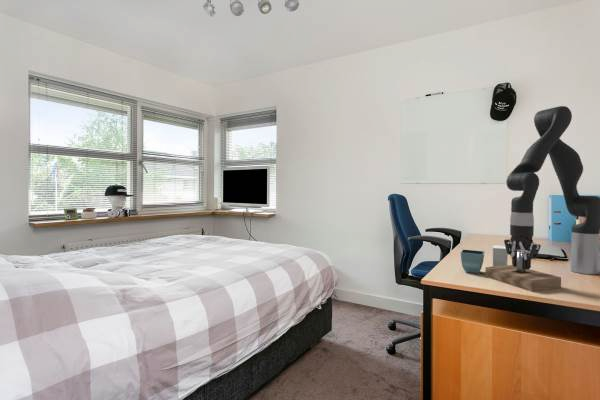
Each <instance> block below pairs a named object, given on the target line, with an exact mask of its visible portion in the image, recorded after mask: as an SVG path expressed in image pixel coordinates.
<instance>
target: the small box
mask: <svg viewBox="0 0 600 400" xmlns="http://www.w3.org/2000/svg"><path fill="white" fill-rule="evenodd" d="M508 255H509V254H507V251H506V247H505V245H492V267H494V266H505V265H508Z"/></svg>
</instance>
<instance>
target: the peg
mask: <svg viewBox="0 0 600 400" xmlns="http://www.w3.org/2000/svg"><path fill="white" fill-rule="evenodd" d="M524 260H525V259H524V256H523V254H522V251H517V261H516V272H517V273H520V274H526V269H524Z"/></svg>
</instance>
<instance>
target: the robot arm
mask: <svg viewBox="0 0 600 400" xmlns="http://www.w3.org/2000/svg"><path fill="white" fill-rule="evenodd" d="M572 119H573V115H572V111H571V110H570V108H569V107H568V106H566V105H565V106H564V105H561V106H560V105H559V106H555V107H551V108H547V109H542V110H539V111H537V112H536V113H535V114H534V117H533V123H534V127H535V129H536V131H537V133H538V135H539V137H540V138H538V139H537V140H536V141H534V142H533V143H532V144H531V145H530V147H528V148H527V150H526V151H525V153H524V156H523V157H522V159H521V161H520V162H519V164H518V165H516V167H515V168H514V169H512V170H511V172H509V174H508V175H507V178H506V181H505V182H506V187H507V189H508V190H510V191H513V192H517V191H518V192H522V194H521V195H520V196H515V197H512V199H511V204H510V205H511V207H510V209H511V210H510V211H511V212H510V218H509V219H510V221H509V223H510V224H509V235H510V239H509V238H508V239H504V240H503V242H504V246H505V247H506V251H507V254H508V255H509V256H511V265H513V266H514V267H516V261H517V251H522V254H523V256H524V259H525V260H524V269H530V270H531V267H532V266H531V265H532V260H535V259H537V258H538V255H539V252H540V249H541V246H542V245H541V244H538V243H536V242H534V240H533V237H534V236H535V235H534V225H535V224H534V223H535V222H534V221H535V218H534V201H535V198H536V194H537V192H538V189H539V186H540V178H539V175H538V174H536V173H538V172H539V171H540V170H541V169H542V167H543V166H544V164H545V161H546V159H547V157H548V156H549V159H550V161H551V164H552V167H553V169H554V172H555V174H556V176H557V179H558V181H559V185H560V187H561V190H562V194H563V197H564V202H565V207H566V209H567V212H568V213H569V214H570V215H571V216H573V217H580V218H585V220H584V221H583V222H581V223H577V224H573V225H572V226H571V233H570V234H571V238H570V240H571V245H570V250H571V251H570V271H571V272H574V273H577V274H583V275H599V274H600V197H599V196H598V195H597V196H596V195H580V193H579V192H578V187H577V186H578V183H579V180H581V177H582V174H583V173H584V165H583V163H582V160H581V157H580V154H579V153H578V152H577V151H576V150H575V149H574V148H573V147H571V146H570V145H569V144H567V143H565V142H564V141H563V140H562V139H561V137H562V136H563V134H564V133H565V132H566V130H567V129H568V127H569V126H570V125H571V122H572Z"/></svg>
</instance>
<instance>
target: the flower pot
mask: <svg viewBox="0 0 600 400" xmlns="http://www.w3.org/2000/svg"><path fill="white" fill-rule="evenodd" d="M484 257H485V251H483V250H475V249H474V250H473V249H464V248H463V249H461V252H460V260H461V261H460V262H461V267H462V269H463V270H464V272H465V273H471V274H479V273H480V272H481V269H482V267H483V263H484V260H485V259H484Z"/></svg>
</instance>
